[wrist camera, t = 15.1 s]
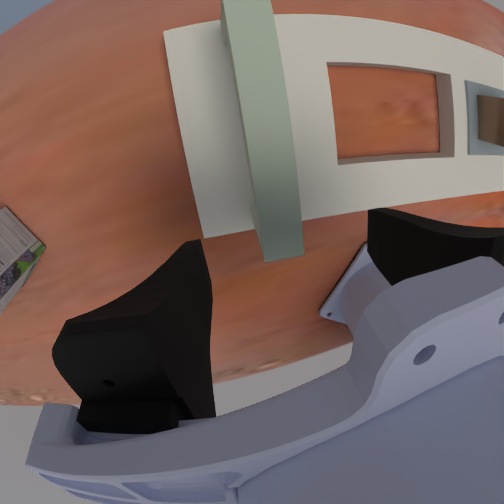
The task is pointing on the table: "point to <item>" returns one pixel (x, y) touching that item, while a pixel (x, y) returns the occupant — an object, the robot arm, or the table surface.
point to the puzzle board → (331, 118)
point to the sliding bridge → (265, 125)
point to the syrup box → (15, 255)
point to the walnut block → (491, 119)
